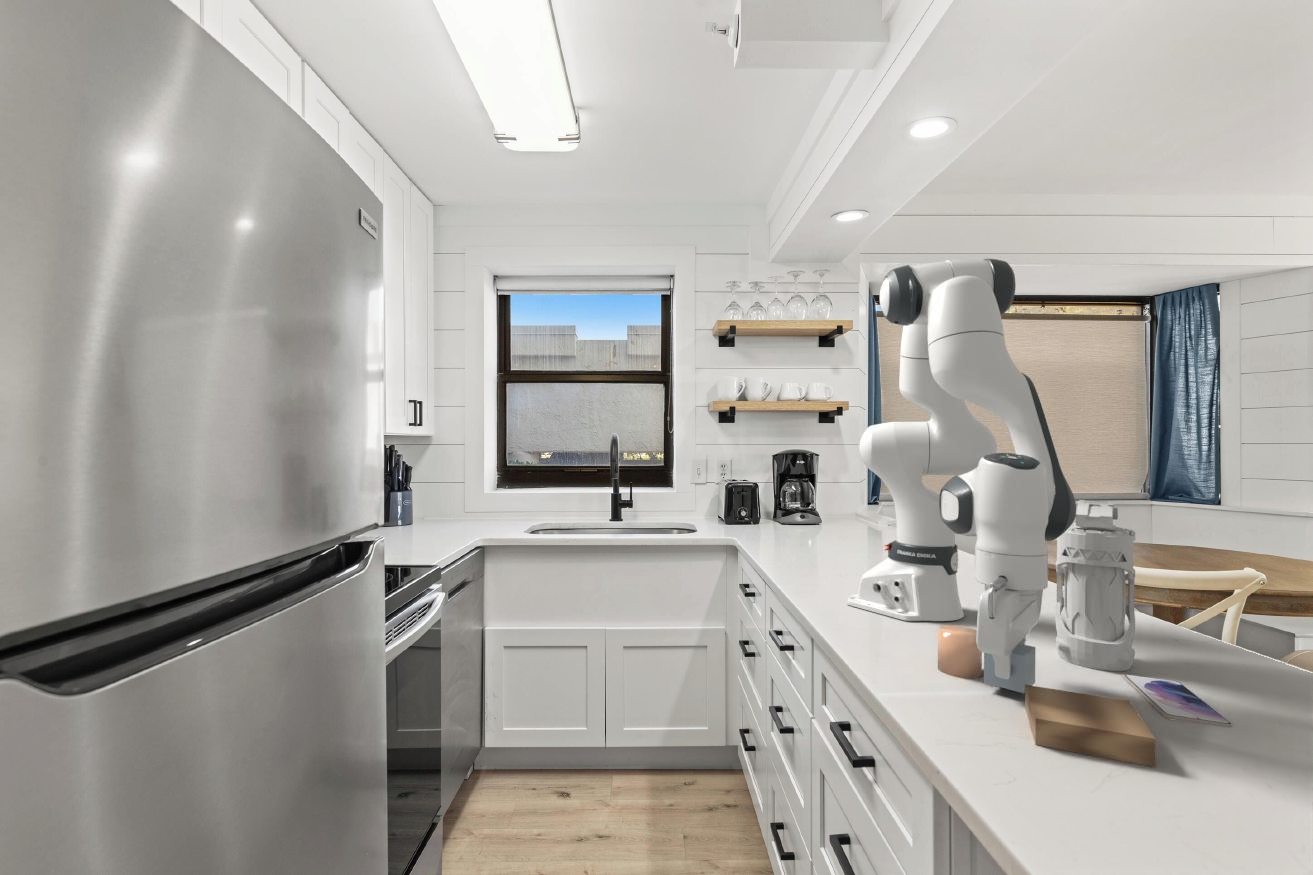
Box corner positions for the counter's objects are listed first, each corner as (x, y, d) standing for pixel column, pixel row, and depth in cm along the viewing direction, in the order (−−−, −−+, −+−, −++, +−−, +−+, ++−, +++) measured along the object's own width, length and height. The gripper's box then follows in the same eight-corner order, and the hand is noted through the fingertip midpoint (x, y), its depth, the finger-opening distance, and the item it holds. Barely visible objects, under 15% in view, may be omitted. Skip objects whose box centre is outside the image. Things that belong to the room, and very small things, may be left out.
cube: (983, 682, 86) (984, 646, 86) (995, 672, 90) (996, 638, 90) (1024, 693, 83) (1024, 655, 83) (1035, 682, 86) (1035, 647, 86)
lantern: (1135, 677, 92) (1136, 508, 92) (1052, 661, 98) (1053, 504, 98) (1134, 653, 102) (1134, 502, 103) (1059, 641, 109) (1059, 498, 109)
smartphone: (1179, 680, 90) (1235, 725, 76) (1178, 686, 90) (1235, 731, 76) (1120, 673, 92) (1165, 714, 78) (1120, 678, 92) (1165, 721, 78)
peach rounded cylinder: (931, 670, 94) (931, 630, 94) (946, 661, 98) (946, 623, 98) (973, 681, 90) (973, 640, 90) (987, 671, 94) (987, 631, 94)
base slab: (1035, 744, 71) (1035, 718, 71) (1025, 707, 81) (1025, 684, 81) (1155, 766, 66) (1155, 738, 66) (1129, 724, 76) (1129, 700, 76)
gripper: (1018, 588, 76) (1017, 700, 76) (1050, 562, 91) (1049, 656, 92) (963, 580, 80) (962, 686, 81) (1003, 556, 96) (1002, 646, 96)
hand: (1009, 669), depth 86 cm, fingers closed on cube, 5 cm apart
